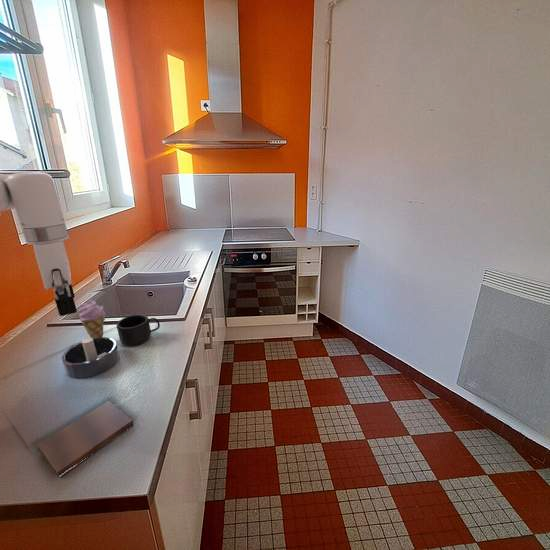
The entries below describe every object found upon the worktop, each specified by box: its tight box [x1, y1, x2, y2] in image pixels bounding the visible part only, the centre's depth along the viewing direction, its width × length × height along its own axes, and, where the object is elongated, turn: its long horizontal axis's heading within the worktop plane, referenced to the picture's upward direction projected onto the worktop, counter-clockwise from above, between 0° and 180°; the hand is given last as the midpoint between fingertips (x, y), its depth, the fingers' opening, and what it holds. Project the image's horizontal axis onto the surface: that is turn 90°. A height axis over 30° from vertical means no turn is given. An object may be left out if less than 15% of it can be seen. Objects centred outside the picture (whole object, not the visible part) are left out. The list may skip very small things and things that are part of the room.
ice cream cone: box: [77, 299, 107, 338], centre depth 91 cm, size 7×6×15 cm
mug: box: [116, 314, 161, 347], centre depth 95 cm, size 12×9×7 cm
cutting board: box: [36, 400, 135, 476], centre depth 61 cm, size 14×10×2 cm
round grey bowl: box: [61, 336, 120, 380], centre depth 83 cm, size 13×13×5 cm
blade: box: [81, 337, 107, 362], centre depth 82 cm, size 8×3×8 cm, turn 144°
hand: (68, 306), depth 70 cm, fingers open, 9 cm apart
